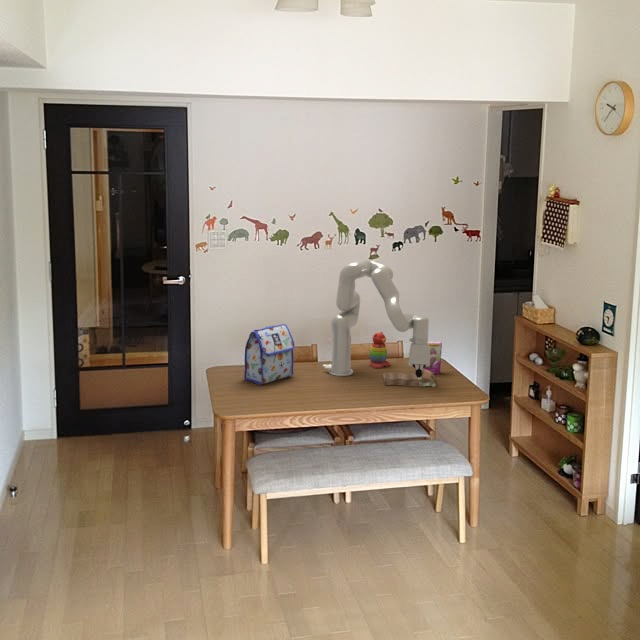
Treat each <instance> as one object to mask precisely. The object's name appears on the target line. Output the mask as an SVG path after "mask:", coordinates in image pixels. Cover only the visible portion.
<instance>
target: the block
mask: <svg viewBox="0 0 640 640" xmlns="http://www.w3.org/2000/svg"><path fill="white" fill-rule="evenodd" d="M431 375H432V373H431V372H430V371H428V370H425V369H423V370H422V376H420V377H421V378H422V379H423V378H424V379H430V377H431Z"/></svg>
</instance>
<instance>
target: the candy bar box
mask: <svg viewBox="0 0 640 640" xmlns="http://www.w3.org/2000/svg"><path fill="white" fill-rule="evenodd" d="M428 344H429V346H430V366H426V367H424V368H423V369H425V370H428V371H430V372H431V371H433V374H434V375H440V374H441V366H442V365H441V363H442V351H443V350H442V349H443V348H442V347H443V345H442V344H443V343H442V342H441V341H428ZM419 368H420V365H418V369H419Z"/></svg>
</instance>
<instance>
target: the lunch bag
mask: <svg viewBox="0 0 640 640" xmlns="http://www.w3.org/2000/svg"><path fill="white" fill-rule="evenodd" d="M294 349H295V341H294V338H293V336H292V334H291V332H290V329H289V327H288V325H287V324H284V323H283V324H278V325H271V326H270V325H269V326H265V327H263V328H260V329H254V330H253V331H251V332H250V334H249V336H248V339H247V341H246V344H245V347H244V358H243V359H244V375H243V378H244V380H246V381H248V382H252V383H255V384H258V385H260V386H262V385H264V384H268V383H270V382H274V381H278V380H281V379H285V378H288V377H292V376H294Z"/></svg>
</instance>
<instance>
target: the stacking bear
mask: <svg viewBox="0 0 640 640" xmlns="http://www.w3.org/2000/svg"><path fill="white" fill-rule="evenodd" d="M386 341H387V338H386V336H385V334H384V333H383V332H382V331H380V332H376V333H374V334H373V336H372V342H373V343H372V344H371V346H370V348H369V354H368V355H369V359H370V361H369V366H370V367H371V368H374V369H378V368H379V369H382V368H384V366H386V367H390V366H391V362H390V361H387V356H388V350H387V345H386ZM389 365H390V366H389Z"/></svg>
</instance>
